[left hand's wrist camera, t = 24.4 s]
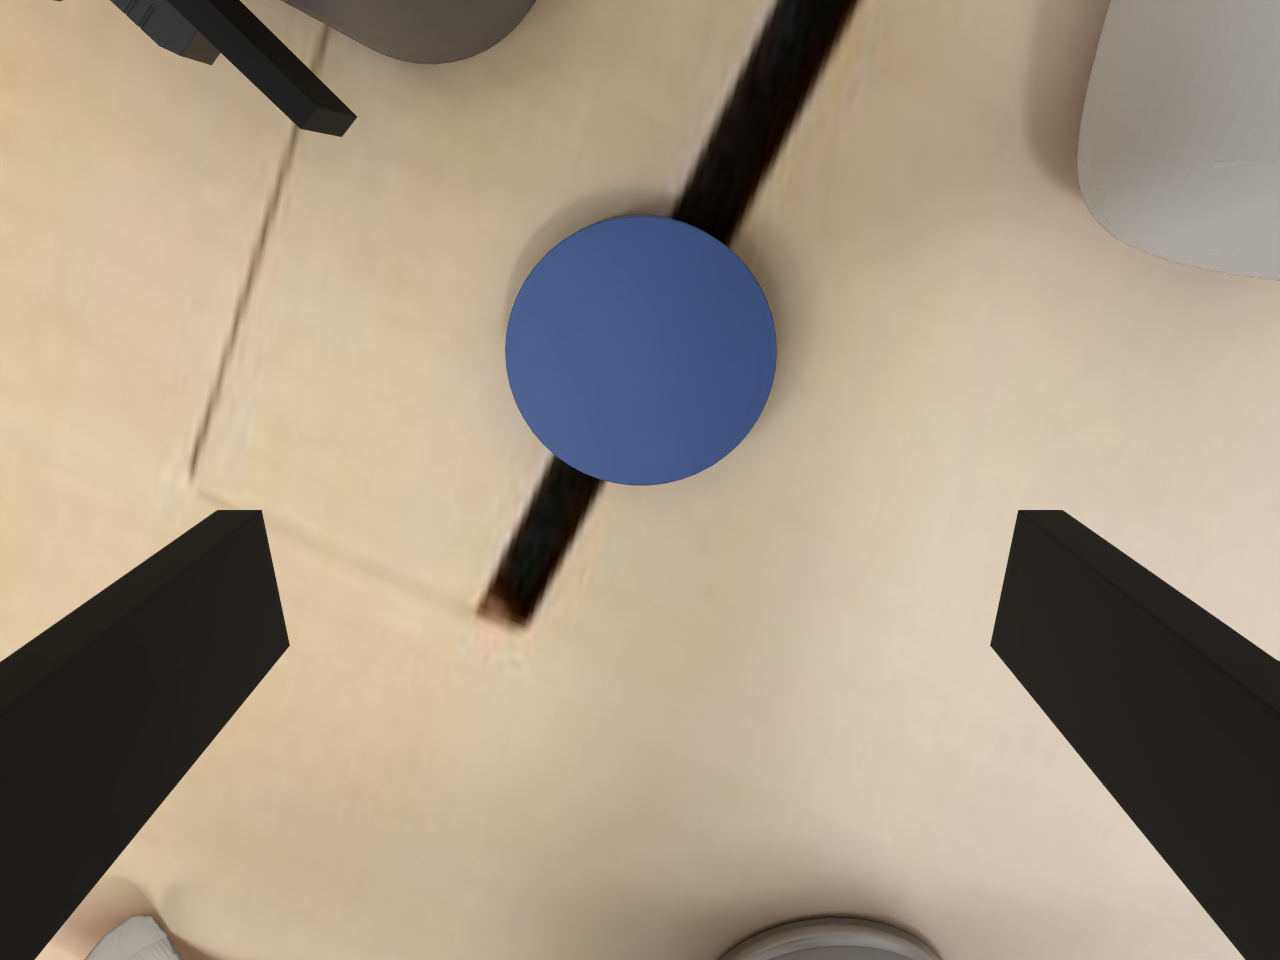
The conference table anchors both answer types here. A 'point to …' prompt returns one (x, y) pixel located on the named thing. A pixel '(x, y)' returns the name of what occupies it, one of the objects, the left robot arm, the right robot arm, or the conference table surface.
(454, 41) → the jar
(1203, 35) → the projector
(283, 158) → the conference table surface
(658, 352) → the lid
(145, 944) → the fish
